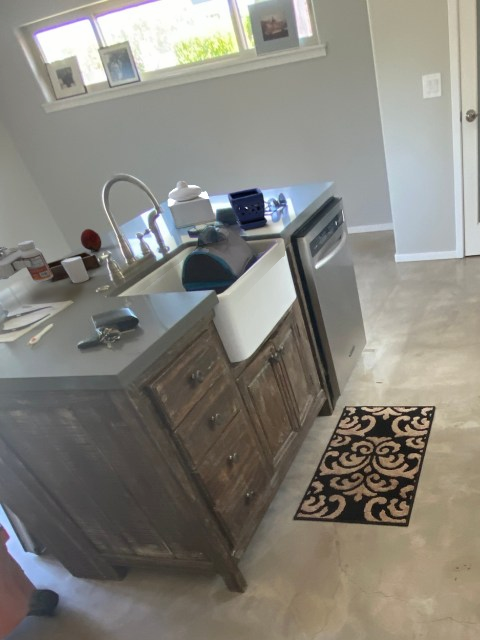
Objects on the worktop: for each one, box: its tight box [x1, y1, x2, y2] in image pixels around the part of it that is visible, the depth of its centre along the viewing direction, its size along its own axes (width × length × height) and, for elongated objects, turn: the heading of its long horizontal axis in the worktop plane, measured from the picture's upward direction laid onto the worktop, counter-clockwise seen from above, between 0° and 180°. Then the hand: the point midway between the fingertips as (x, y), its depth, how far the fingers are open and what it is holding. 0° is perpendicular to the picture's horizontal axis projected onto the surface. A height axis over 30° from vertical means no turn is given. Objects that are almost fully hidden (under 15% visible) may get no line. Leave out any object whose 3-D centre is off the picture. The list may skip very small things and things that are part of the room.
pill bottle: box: [16, 240, 53, 283], centre depth 166 cm, size 6×6×11 cm
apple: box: [80, 228, 102, 252], centre depth 212 cm, size 7×8×8 cm
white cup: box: [61, 257, 90, 284], centre depth 182 cm, size 7×7×7 cm
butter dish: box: [167, 180, 216, 230], centre depth 229 cm, size 18×18×16 cm
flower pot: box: [227, 187, 268, 231], centre depth 210 cm, size 13×13×12 cm
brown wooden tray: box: [47, 251, 101, 283], centre depth 193 cm, size 18×10×4 cm, turn 134°
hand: (36, 259), depth 166 cm, fingers closed on pill bottle, 6 cm apart
